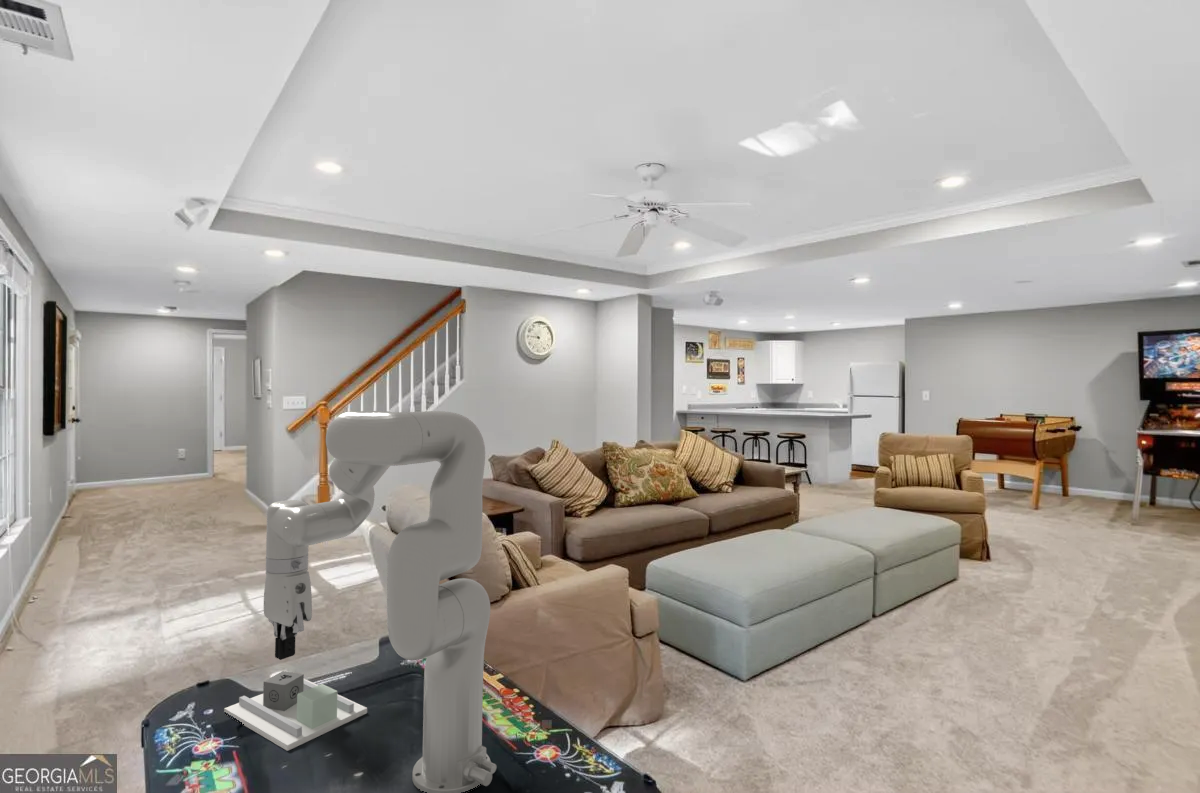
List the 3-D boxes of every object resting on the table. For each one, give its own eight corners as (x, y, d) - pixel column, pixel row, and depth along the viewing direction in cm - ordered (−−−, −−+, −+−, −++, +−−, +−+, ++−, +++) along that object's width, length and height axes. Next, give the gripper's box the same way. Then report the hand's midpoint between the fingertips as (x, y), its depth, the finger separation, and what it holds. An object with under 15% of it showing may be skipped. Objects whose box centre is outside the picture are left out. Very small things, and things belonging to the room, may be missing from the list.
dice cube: (303, 699, 125) (303, 674, 125) (284, 711, 120) (284, 685, 120) (282, 695, 126) (283, 670, 126) (263, 707, 121) (263, 681, 121)
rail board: (366, 713, 122) (367, 682, 122) (287, 751, 108) (287, 716, 108) (302, 682, 134) (303, 654, 134) (224, 713, 120) (224, 682, 120)
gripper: (326, 566, 122) (324, 659, 122) (284, 554, 131) (282, 641, 131) (289, 575, 116) (287, 673, 116) (248, 561, 124) (246, 653, 124)
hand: (285, 656), depth 123 cm, fingers closed
